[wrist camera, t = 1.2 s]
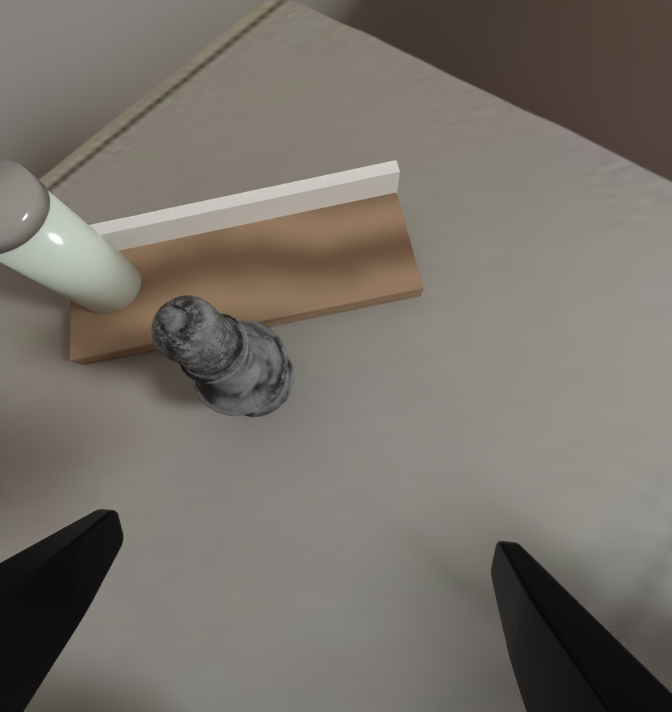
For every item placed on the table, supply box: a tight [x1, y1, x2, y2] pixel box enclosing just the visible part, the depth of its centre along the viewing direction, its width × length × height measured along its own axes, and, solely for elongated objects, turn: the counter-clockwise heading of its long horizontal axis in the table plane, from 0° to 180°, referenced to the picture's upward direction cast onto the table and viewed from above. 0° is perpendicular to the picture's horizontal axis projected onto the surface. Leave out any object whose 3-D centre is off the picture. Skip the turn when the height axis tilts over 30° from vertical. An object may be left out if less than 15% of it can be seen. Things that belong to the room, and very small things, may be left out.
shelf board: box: [70, 193, 423, 365], centre depth 26 cm, size 9×25×1 cm, turn 101°
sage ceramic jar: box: [0, 160, 141, 314], centre depth 22 cm, size 5×5×9 cm
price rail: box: [89, 160, 400, 251], centre depth 26 cm, size 1×25×3 cm, turn 101°
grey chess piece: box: [151, 295, 294, 417], centre depth 19 cm, size 6×6×12 cm
